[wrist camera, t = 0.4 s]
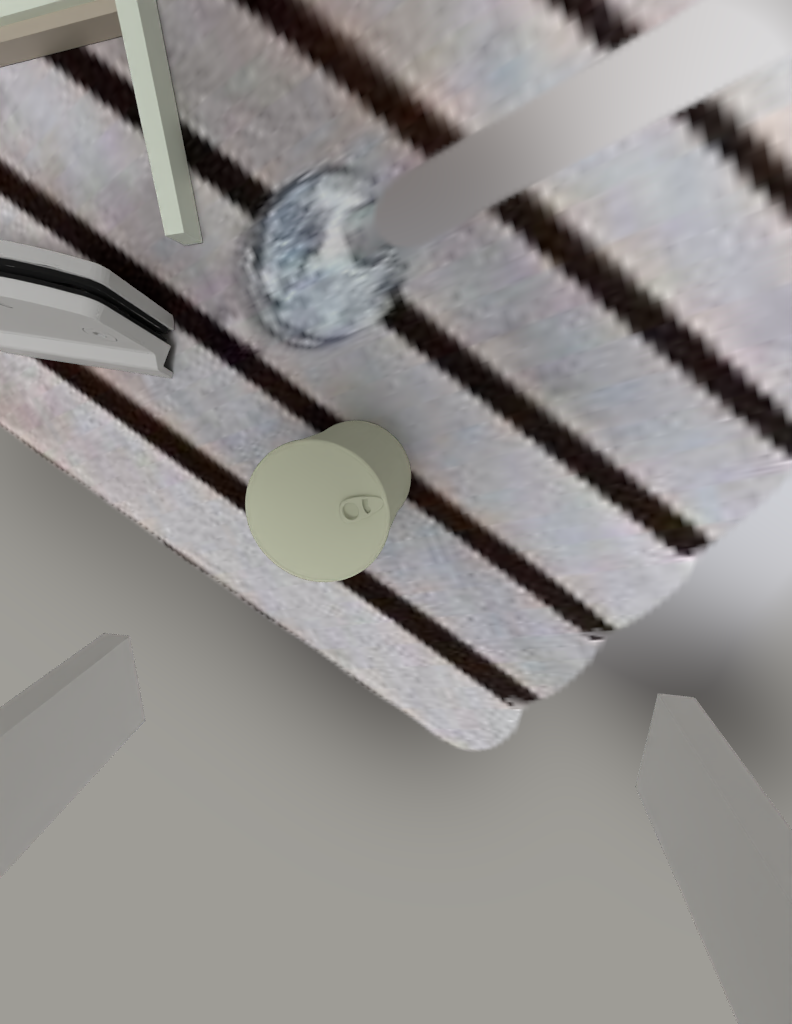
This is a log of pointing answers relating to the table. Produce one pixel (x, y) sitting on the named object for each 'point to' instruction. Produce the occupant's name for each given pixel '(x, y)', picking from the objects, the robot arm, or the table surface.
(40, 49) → the beige flat angled piece
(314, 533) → the can
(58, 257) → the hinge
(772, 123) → the table surface
